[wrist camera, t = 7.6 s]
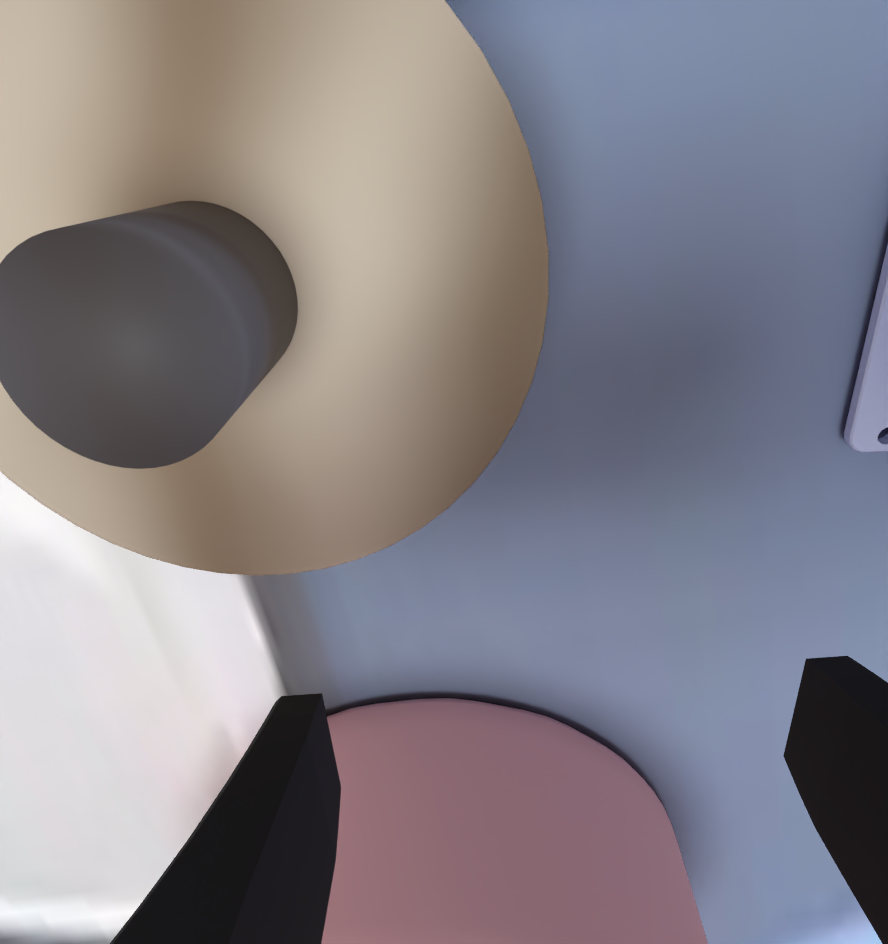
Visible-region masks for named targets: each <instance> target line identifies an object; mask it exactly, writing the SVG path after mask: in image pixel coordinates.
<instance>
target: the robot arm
mask: <svg viewBox="0 0 888 944" xmlns="http://www.w3.org/2000/svg"><path fill="white" fill-rule="evenodd" d="M885 428H888V244H887V249H886V253H885V257H884V262H883V266H882V270H881V275H880V279H879V283H878V288H877V292H876V297H875V301H874V305H873V310H872V314H871V318H870V323H869V327H868V331H867V336H866V340H865V344H864V349H863V353H862V357H861V362H860V366H859V370H858V375H857V379H856V383H855V388H854V392H853V396H852V401H851V405H850V409H849V414H848V418H847V422H846V427H845V431H844V439H845V441H846V443H847V444H848V445H849V446H850V447H852V448H853V449H855V450H856V451H859V452H877V451H888V433H887V434H886V435H885V436H884V437H882V438H878V435H879V433H880V432H881V431H882V430H883V429H885ZM784 758H785V761H786V763H787V765H788V768H789V770H790V772H791V775H792V777H793V779H794V782H795V784H796V787H797V789H798V791H799V794H800V796H801V798H802V800H803V802H804V805H805V807H806V809H807V811H808V813H809V815H810V818H811V820H812V822H813V824H814V826H815V828H816V830H817V832H818V833H819V835H820V837H821V839H822V841H823V842H824V844H825V846H826V848H827V849H828V851H829V853H830V855H831V856H832V858H833V860H834V861H835V863H836V865H837V867H838V868H839V870H840V872H841V874H842V875H843V877H844V879H845V880H846V882H847V884H848V886H849V887H850V889H851V891H852V892H853V894H854V896H855V897H856V899H857V901H858V903H859V904H860V906H861V908H862V909H863V911H864V913H865V914H866V916H867V918H868V920H869V921H870V923H871V925H872V926H873V928H874V930H875V931H876V933H877V935H878V937H879V938H880V940H881V942H882V943H883V944H888V683H887V682H886V681H884V680H883V679H881V678H880V677H879V676H877V675H876V674H874V673H873V672H871V671H870V670H868V669H867V668H865V667H864V666H862V665H861V664H859V663H858V662H856V661H855V660H853V659H852V658H850V657H848V656H839V657H825V658H811V659H806V661H805V666H804V670H803V674H802V679H801V683H800V687H799V692H798V696H797V700H796V705H795V709H794V713H793V718H792V722H791V726H790V731H789V735H788V739H787V744H786V748H785V752H784ZM340 798H341V784H340V779H339V774H338V769H337V764H336V759H335V755H334V750H333V745H332V740H331V735H330V730H329V725H328V721H327V716H326V711H325V706H324V701H323V696H322V693H321V694H307V695H293V696H281V697H280V698H279V699H278V700H277V701H276V702H275V704H274V706H273V707H272V709H271V711H270V712H269V714H268V716H267V718H266V719H265V721H264V723H263V724H262V726H261V728H260V729H259V731H258V733H257V734H256V736H255V738H254V739H253V741H252V743H251V744H250V746H249V748H248V749H247V751H246V752H245V754H244V756H243V757H242V759H241V760H240V762H239V764H238V765H237V767H236V768H235V770H234V771H233V773H232V775H231V776H230V778H229V779H228V781H227V782H226V784H225V786H224V787H223V789H222V790H221V791H220V793H219V794H218V796H217V797H216V799H215V800H214V802H213V803H212V805H211V806H210V808H209V809H208V811H207V812H206V814H205V815H204V817H203V818H202V820H201V821H200V823H199V824H198V826H197V827H196V829H195V830H194V832H193V833H192V835H191V836H190V837H189V839H188V840H187V842H186V843H185V845H184V846H183V847H182V849H181V850H180V851H179V853H178V854H177V856H176V857H175V858H174V860H173V861H172V862H171V864H170V865H169V866H168V868H167V869H166V871H165V872H164V873H163V875H162V876H161V877H160V879H159V880H158V881H157V883H156V884H155V886H154V887H153V888H152V890H151V891H150V892H149V894H148V895H147V896H146V898H145V899H144V900H143V902H142V903H141V904H140V906H139V907H138V908H137V910H136V911H135V912H134V914H133V915H132V916H131V917H130V919H129V920H128V921H127V922H126V924H125V925H124V926H123V928H122V929H121V930H120V931H119V933H118V934H117V935H116V936H115V938H114V939H113V940H112V941H111V943H110V944H321V942H322V937H323V931H324V925H325V920H326V914H327V908H328V903H329V897H330V891H331V885H332V880H333V874H334V868H335V862H336V852H337V840H338V827H339V813H340Z"/></svg>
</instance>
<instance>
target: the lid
mask: <svg viewBox="0 0 888 944" xmlns="http://www.w3.org/2000/svg"><path fill="white" fill-rule="evenodd" d="M547 305H548V244H547V236H546V228H545V220H544V212H543V205H542V199H541V196H540V192H539V188H538V184H537V180H536V176H535V172H534V168H533V165H532V161H531V157H530V153H529V150H528V147H527V145H526V142H525V140H524V137H523V135H522V132H521V130H520V127H519V125H518V122H517V120H516V117H515V115H514V112H513V110H512V107H511V105H510V102H509V100H508V98H507V96H506V94H505V92H504V91H503V89H502V87H501V85H500V83H499V82H498V80H497V78H496V76H495V74H494V72H493V71H492V69H491V67H490V65H489V63H488V62H487V60H486V58H485V56H484V54H483V52H482V51H481V49H480V48H479V46H478V45H477V44H476V42H475V41H474V40H473V38H472V37H471V35H470V34H469V33H468V31H467V30H466V29H465V27H464V26H463V24H462V23H461V22H460V20H459V19H458V18H457V16H456V15H455V14H454V12H453V11H452V9H451V8H450V7H449V5H448V4H447V3H446V1H445V0H0V471H1V472H2V473H3V474H4V475H5V476H6V477H7V478H8V479H9V480H11V481H12V482H13V483H15V484H16V485H17V486H19V487H20V488H21V489H23V490H24V491H25V492H27V493H28V494H29V495H31V496H32V497H33V498H34V499H36V500H37V501H38V502H40V503H41V504H42V505H44V506H46V507H47V508H49V509H51V510H52V511H54V512H55V513H57V514H59V515H60V516H62V517H63V518H65V519H67V520H68V521H70V522H71V523H73V524H75V525H76V526H78V527H80V528H82V529H84V530H86V531H88V532H90V533H92V534H94V535H96V536H98V537H100V538H102V539H104V540H106V541H108V542H110V543H113V544H115V545H118V546H120V547H123V548H126V549H128V550H131V551H133V552H136V553H139V554H141V555H144V556H146V557H150V558H153V559H157V560H160V561H164V562H168V563H171V564H175V565H179V566H182V567H187V568H193V569H199V570H205V571H211V572H216V573H227V574H242V575H276V574H293V573H299V572H306V571H312V570H319V569H325V568H329V567H332V566H336V565H339V564H343V563H347V562H350V561H354V560H357V559H360V558H362V557H365V556H367V555H370V554H372V553H375V552H377V551H379V550H382V549H384V548H387V547H389V546H391V545H393V544H395V543H396V542H398V541H400V540H402V539H404V538H405V537H407V536H409V535H411V534H412V533H414V532H416V531H418V530H419V529H421V528H422V527H424V526H425V525H426V524H428V523H429V522H430V521H432V520H433V519H434V518H436V517H437V516H438V515H440V514H441V513H442V512H444V511H445V510H446V509H448V508H449V507H450V506H451V505H452V504H453V503H454V502H455V501H456V500H457V499H458V498H459V497H460V496H461V495H462V494H463V493H464V492H465V491H466V490H467V489H468V488H469V487H470V486H471V485H472V484H473V483H474V482H475V481H476V480H477V478H478V477H479V476H480V474H481V473H482V472H483V471H484V469H485V468H486V467H487V465H488V464H489V463H490V462H491V460H492V459H493V458H494V456H495V455H496V454H497V452H498V451H499V449H500V447H501V446H502V444H503V442H504V440H505V439H506V437H507V435H508V434H509V432H510V430H511V428H512V427H513V425H514V423H515V422H516V420H517V417H518V415H519V412H520V410H521V408H522V405H523V403H524V400H525V398H526V396H527V393H528V391H529V388H530V386H531V384H532V380H533V376H534V373H535V369H536V365H537V361H538V358H539V354H540V350H541V347H542V343H543V336H544V328H545V320H546V313H547Z"/></svg>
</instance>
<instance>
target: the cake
mask: <svg viewBox="0 0 888 944" xmlns="http://www.w3.org/2000/svg"><path fill="white" fill-rule="evenodd" d="M327 721H328V725H329V730H330V735H331V740H332V745H333V750H334V755H335V759H336V764H337V769H338V774H339V779H340V784H341V798H340V813H339V827H338V840H337V852H336V862H335V868H334V874H333V880H332V885H331V891H330V897H329V903H328V908H327V914H326V920H325V925H324V931H323V937H322V942H321V944H708V942H707V939H706V935H705V932H704V929H703V925H702V922H701V919H700V915H699V912H698V909H697V905H696V902H695V899H694V895H693V892H692V889H691V885H690V882H689V879H688V876H687V872H686V869H685V866H684V862H683V859H682V856H681V852H680V849H679V846H678V842H677V839H676V837H675V834H674V831H673V828H672V825H671V822H670V820H669V817H668V815H667V813H666V811H665V809H664V806H663V805H662V803H661V802H660V800H659V799H658V797H657V796H656V794H655V792H654V791H653V790H652V789H651V788H650V786H649V785H648V784H647V783H646V782H645V780H644V779H643V778H642V777H641V776H640V775H639V774H638V773H637V772H636V771H635V770H634V769H633V768H632V767H631V766H630V765H629V764H628V763H627V762H626V761H625V760H624V759H623V758H622V757H620V756H619V755H617V754H616V753H614V752H613V751H612V750H610V749H609V748H607V747H606V746H604V745H602V744H601V743H599V742H597V741H595V740H594V739H592V738H590V737H588V736H587V735H585V734H583V733H581V732H579V731H577V730H575V729H574V728H572V727H570V726H568V725H566V724H564V723H561V722H559V721H557V720H554V719H552V718H550V717H547V716H544V715H541V714H537V713H533V712H530V711H526V710H522V709H517V708H512V707H507V706H501V705H496V704H490V703H485V702H479V701H473V700H463V699H454V698H427V699H414V700H404V701H395V702H386V703H377V704H371V705H365V706H360V707H355V708H350V709H347V710H344V711H341V712H338V713H336V714H333V715H330V716H327Z"/></svg>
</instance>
